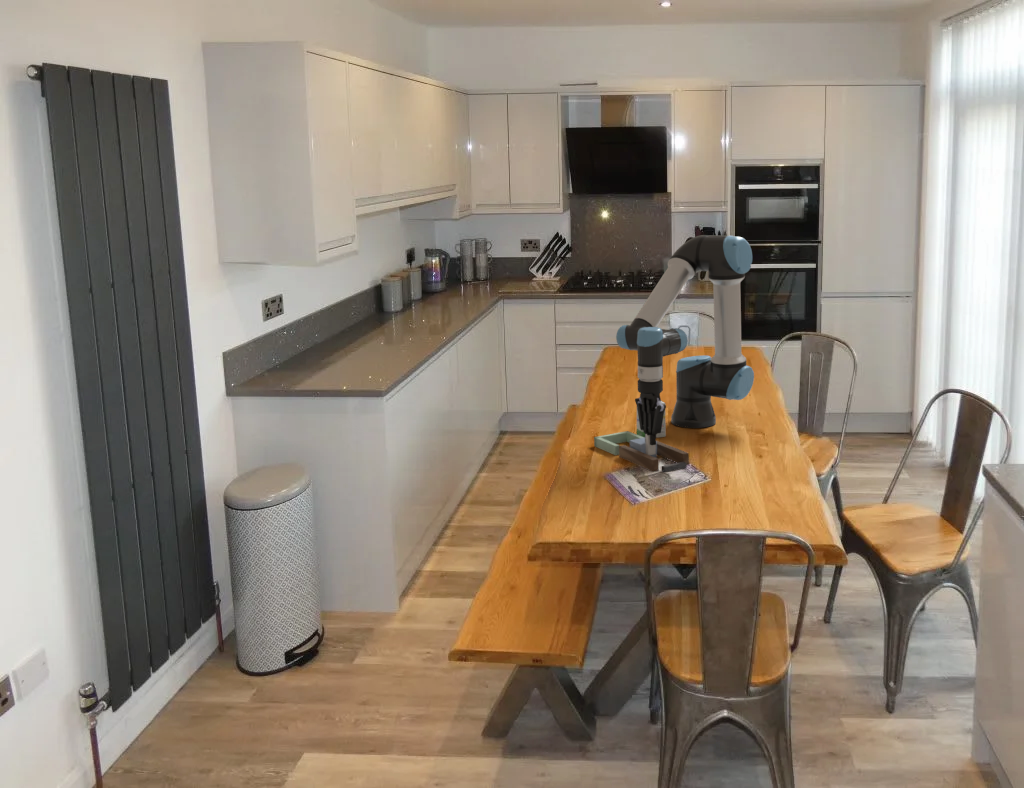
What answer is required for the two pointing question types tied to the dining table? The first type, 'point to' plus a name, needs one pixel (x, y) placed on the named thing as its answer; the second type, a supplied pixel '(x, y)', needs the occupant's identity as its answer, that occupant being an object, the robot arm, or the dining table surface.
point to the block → (641, 445)
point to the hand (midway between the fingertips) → (650, 454)
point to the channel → (650, 461)
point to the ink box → (662, 434)
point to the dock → (614, 441)
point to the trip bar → (674, 466)
